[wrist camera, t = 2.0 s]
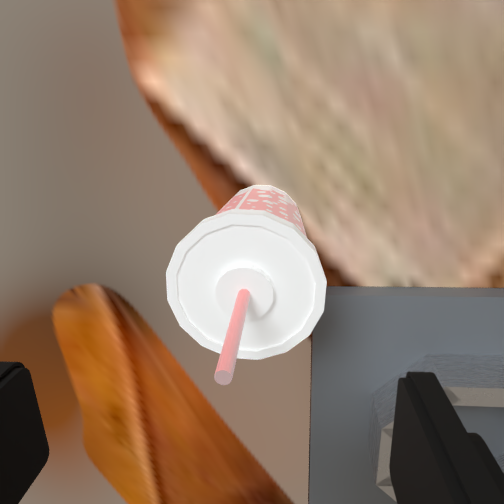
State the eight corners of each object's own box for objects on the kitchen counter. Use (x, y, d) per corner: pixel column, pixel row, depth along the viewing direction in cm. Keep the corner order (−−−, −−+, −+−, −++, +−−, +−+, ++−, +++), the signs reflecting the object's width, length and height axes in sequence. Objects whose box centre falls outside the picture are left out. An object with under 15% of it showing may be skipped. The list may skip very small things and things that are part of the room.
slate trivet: (312, 286, 25) (313, 295, 23) (634, 289, 23) (651, 299, 22) (308, 498, 31) (308, 513, 30) (559, 514, 29) (570, 530, 28)
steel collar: (375, 351, 24) (385, 384, 22) (560, 356, 23) (596, 391, 21) (364, 479, 28) (372, 520, 25) (523, 488, 27) (550, 533, 24)
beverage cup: (221, 277, 25) (143, 471, 12) (200, 179, 23) (78, 285, 10) (320, 265, 24) (353, 460, 11) (307, 162, 22) (329, 253, 9)
